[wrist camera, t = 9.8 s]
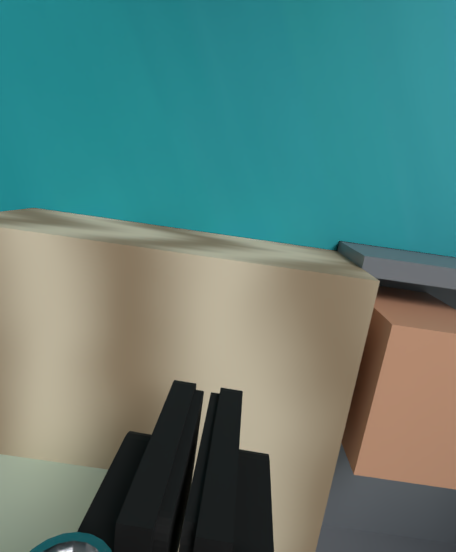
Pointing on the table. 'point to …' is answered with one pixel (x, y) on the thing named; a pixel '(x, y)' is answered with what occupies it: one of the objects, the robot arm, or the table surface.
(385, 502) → the box
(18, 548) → the pale green block
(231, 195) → the table surface
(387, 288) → the salmon rectangular block
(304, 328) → the striped wooden block
